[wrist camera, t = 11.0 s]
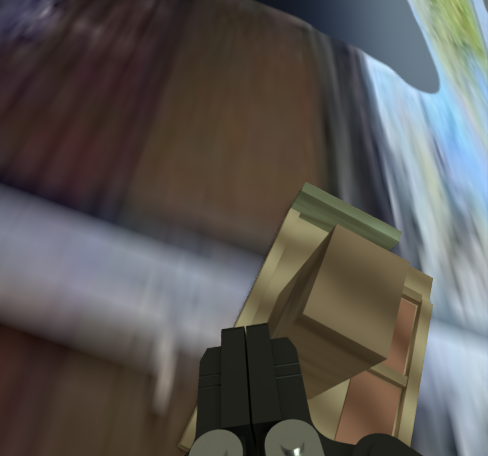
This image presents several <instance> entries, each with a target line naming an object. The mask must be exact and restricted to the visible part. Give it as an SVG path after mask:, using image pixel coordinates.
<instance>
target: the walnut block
mask: <svg viewBox="0 0 488 456" xmlns="http://www.w3.org/2000/svg"><path fill="white" fill-rule="evenodd" d="M408 265H409V262H408V261H406V260H405V259H403V258H401V257H399V256H397V255H395V254H393V253H391V252H389V251H388V250H386V249H384V248H382V247H380V246H378V245H376V244H374V243H372V242H370V241H369V240H367V239H365V238H363V237H361V236H359V235H357V234H355V233H353V232H352V231H350V230H348V229H346V228H344V227H342V226H340V225H338V224H336V225H335V226H334V228H333V229H332V230H331V231H330V233H329V234H328V235H327V236H326V237H325V239H324V240H323V241H322V242H321V244H320V245H319V246H318V247H317V248H316V250H315V251H314V252H313V253H312V254H311V256H310V257H309V258H308V259H307V261H306V262H305V263H304V264H303V265H302V267H301V268H300V269H299V270H298V272H297V273H296V274H295V275H294V276H293V278H292V279H291V280H290V281H289V283H288V284H287V285H286V286H285V287H284V289H283V290H282V291H281V292H280V294H279V296H278V298H277V300H276V303H275V305H274V307H273V310H272V312H271V314H270V317H269V319H268V321H267V323H268V325H269V331H270V337H271V339H275V338H282V337H288V338H289V340H290V341H291V342H292V343H293V345H294V346H295V347H296V349H297V354H298V359H299V364H300V368H301V373H302V378H303V383H304V387H305V392H306V397H307V399H308V400H310V399H311V398H313V397H315V396H317V395H319V394H321V393H323V392H325V391H327V390H329V389H331V388H333V387H335V386H336V385H338V384H340V383H342V382H344V381H346V380H348V379H350V378H352V377H354V376H356V375H358V374H360V373H361V372H363V371H365V370H367V369H369V368H371V367H373V366H375V365H377V364H379V363H381V362H383V361H385V360H386V359H388V355H389V351H390V346H391V342H392V337H393V333H394V328H395V324H396V319H397V315H398V310H399V306H400V301H401V297H402V292H403V288H404V283H405V279H406V274H407V270H408Z"/></svg>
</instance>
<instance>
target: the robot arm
mask: <svg viewBox="0 0 488 456" xmlns="http://www.w3.org/2000/svg"><path fill="white" fill-rule="evenodd" d="M198 388H199V390H198V402H197V418H196V434H195V439H194V442H193V444H192V446H191V448H190V449H189V451H188V452H187V453H186V454H185V456H422V455H421V454H419V453H418V452H416V451H415V450H414V449H412V448H411V447H409V446H408V445H406V444H405V443H403V442H402V441H401V440H399V439H397V438H396V437H394V436H391V435H388V434H384V433H373V434H369V435H366V436H364V437H363V438H361V439H360V440H359V441H358V442H357V444H356V445H354V444H348V443H343V442H338V441H334V440H332V439H329V438H327V437H326V436H324V435H323V434H321V433H320V432H319V431H318V430H317V429H316V427H315V426H314V424H313V422H312V420H311V416H310V411H309V406H308V402H307V397H306V392H305V387H304V383H303V378H302V373H301V368H300V364H299V359H298V354H297V349H296V347H295V346H294V345H293V343H292V342H291V341H290V340H289V338H288V337H282V338H275V339H271V337H270V331H269V325H268V323H262V324H255V325H248V326H246V331H245V327H244V326H241V327H234V328H227V329H222V330H221V346H220V347H213V348H207V350H206V352H205V353H204V355H203V357H202V359H201V361H200V369H199V386H198Z"/></svg>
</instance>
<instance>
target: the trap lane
mask: <svg viewBox="0 0 488 456" xmlns="http://www.w3.org/2000/svg"><path fill="white" fill-rule="evenodd" d="M336 224H338V225H340V226H342V227H344V228H346V229H348V230H350V231H352V232H353V233H355V234H357V235H359V236H361V237H363V238H365V239H367V240H369V241H370V242H372V243H374V244H376V245H378V246H380V247H382V248H384V249H386V250H388V251H389V250H390V249H391V248H393V247H394V246H395V245H396V244H397V243H398V242H399V240H400V236H401V231H399V230H397V229H396V228H394V227H392V226H390V225H388V224H386V223H384V222H382V221H380V220H378V219H376V218H374V217H372V216H371V215H369V214H367V213H365V212H363V211H361V210H359V209H357V208H355V207H353V206H351V205H349V204H347V203H346V202H344V201H342V200H340V199H338V198H336V197H334V196H332V195H330V194H328V193H326V192H324V191H323V190H321V189H319V188H317V187H315V186H313V185H311V184H309V183H307V182H305V183H304V185H303V187H302V188H301V190H300V191H299V193H298V195H297V196H296V198H295V200H294V201H293V203H292V204H291V206H290V208H289V210H288V212H287V214H286V216H285V218H284V220H283V223H282V225H281V227H280V229H279V231H278V233H277V235H276V237H275V240H274V242H273V244H272V246H271V248H270V250H269V252H268V254H267V257H266V259H265V261H264V263H263V265H262V267H261V269H260V272H259V274H258V276H257V278H256V280H255V282H254V284H253V286H252V289H251V291H250V293H249V295H248V297H247V299H246V301H245V303H244V306H243V308H242V310H241V312H240V314H239V316H238V318H237V320H236V323H235V325H234V327H241V326H244V327H245V331H246V326H248V325H255V324H262V323H267V321H268V319H269V317H270V314H271V312H272V310H273V307H274V305H275V303H276V300H277V298H278V296H279V294H280V292H281V291H282V290H283V289H284V287H285V286H286V285H287V284H288V283H289V281H290V280H291V279H292V278H293V276H294V275H295V274H296V273H297V272H298V270H299V269H300V268H301V267H302V265H303V264H304V263H305V262H306V261H307V259H308V258H309V257H310V256H311V254H312V253H313V252H314V251H315V250H316V248H317V247H318V246H319V245H320V244H321V242H322V241H323V240H324V239H325V237H326V236H327V235H328V234H329V233H330V231H331V230H332V229H333V228H334V226H335V225H336ZM432 281H433V278H432V277H430V276H428V275H426V274H424V273H422V272H420V271H419V270H417V269H415V268H413V267H411V266H409V265H408V270H407V274H406V279H405V283H404V288H403V292H402V297H401V301H400V306H399V310H398V315H397V319H396V324H395V328H394V333H393V337H392V342H391V346H390V351H389V355H388V359H386V360H385V361H383V362H381V363H379V364H377V365H375V366H373V367H371V368H369V369H367V370H365V371H363V372H361V373H360V374H358V375H356V376H354V377H352V378H350V379H348V380H346V381H344V382H342V383H340V384H338V385H336V386H335V387H333V388H331V389H329V390H327V391H325V392H323V393H321V394H319V395H317V396H315V397H313V398H311V399H310V400H308V399H307V402H308V406H309V411H310V416H311V420H312V422H313V424H314V426H315V427H316V429H317V430H318V431H319V432H320V433H321V434H323V435H324V436H326V437H327V438H329V439H332V440H334V441H338V442H343V443H348V444H354V445H356V444H357V442H358V441H359V440H360V439H361V438H363V437H364V436H366V435H369V434H373V433H384V434H388V435H391V436H394V437H396V438H397V439H399V440H401V441H402V442H403V443H405V444H406V445H408V446H409V447H410V444H411V438H412V431H413V425H414V419H415V412H416V406H417V400H418V394H419V387H420V381H421V375H422V369H423V362H424V356H425V350H426V344H427V337H428V331H429V325H430V319H431V312H432V306H433V304H431V303H429V299H430V293H431V287H432ZM234 327H233V328H234ZM196 418H197V406H196V408H195V410H194V412H193V414H192V416H191V418H190V421H189V423H188V425H187V427H186V429H185V431H184V433H183V436H182V438H181V440H180V442H179V444H178V446H177V447H179V448H181V449H182V450H184V451H186V452H188V451H189V449H190V448H191V446H192V444H193V442H194V439H195V434H196Z"/></svg>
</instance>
